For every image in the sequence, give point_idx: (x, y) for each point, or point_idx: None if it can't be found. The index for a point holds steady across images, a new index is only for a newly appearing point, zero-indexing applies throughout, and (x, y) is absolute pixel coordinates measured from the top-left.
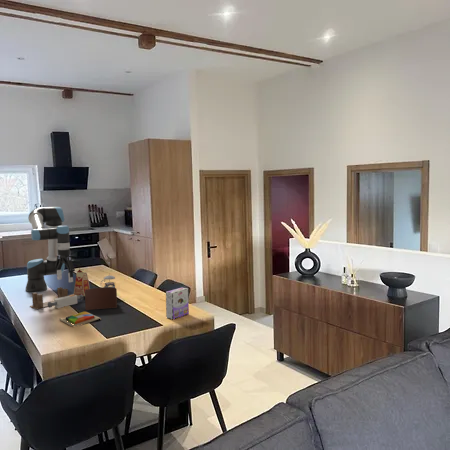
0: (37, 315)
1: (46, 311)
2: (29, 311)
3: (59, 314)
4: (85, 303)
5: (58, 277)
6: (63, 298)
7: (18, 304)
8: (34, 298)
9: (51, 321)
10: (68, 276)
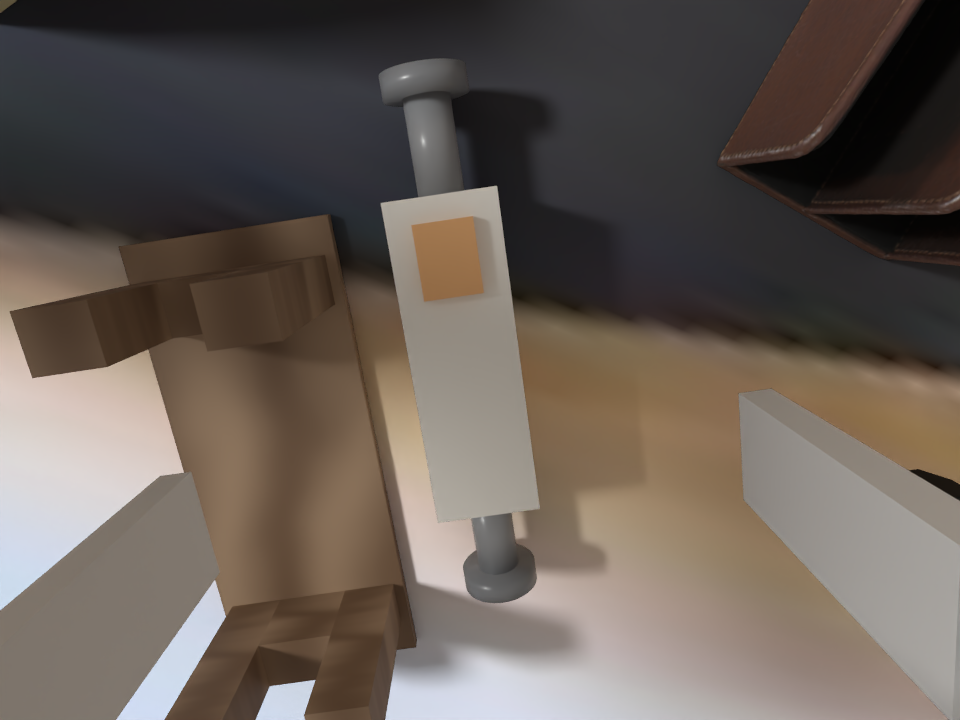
0: (638, 704)
1: (564, 598)
2: (431, 714)
3: None
4: (946, 262)
5: (185, 598)
6: (512, 419)
7: None
8: (258, 710)
9: None
10: (840, 602)
